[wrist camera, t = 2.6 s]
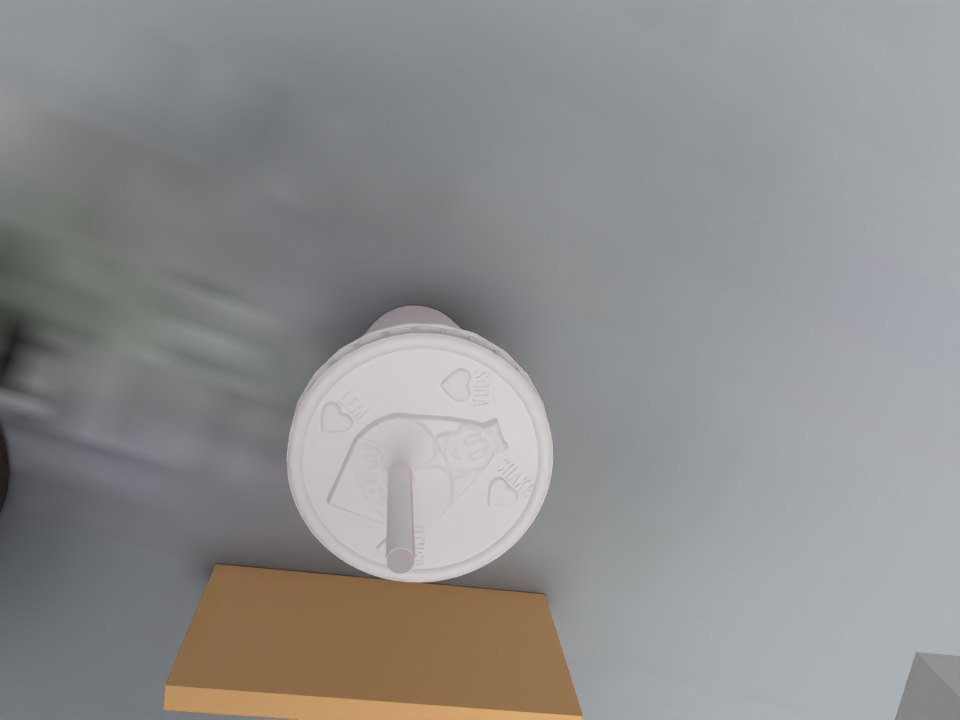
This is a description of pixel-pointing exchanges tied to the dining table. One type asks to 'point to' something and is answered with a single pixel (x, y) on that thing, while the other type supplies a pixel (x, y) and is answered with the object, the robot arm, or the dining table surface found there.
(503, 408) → the smoothie
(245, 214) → the dining table surface
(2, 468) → the container
